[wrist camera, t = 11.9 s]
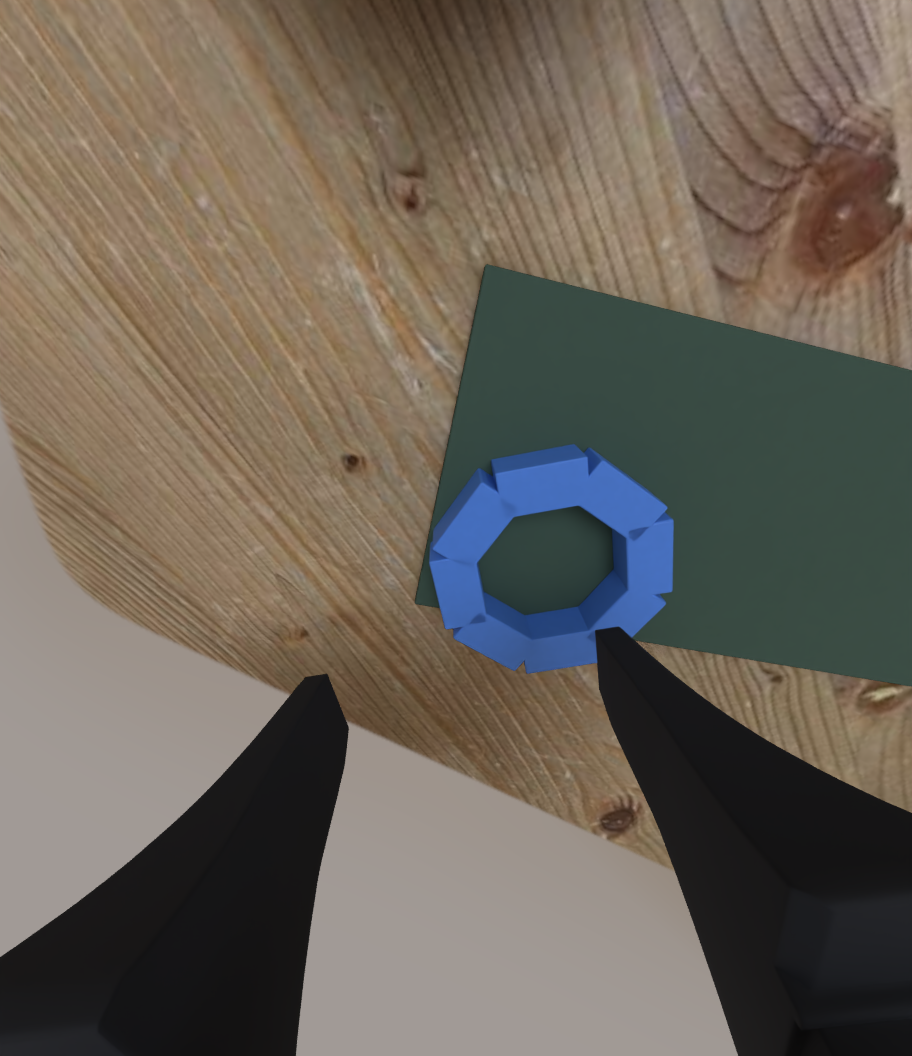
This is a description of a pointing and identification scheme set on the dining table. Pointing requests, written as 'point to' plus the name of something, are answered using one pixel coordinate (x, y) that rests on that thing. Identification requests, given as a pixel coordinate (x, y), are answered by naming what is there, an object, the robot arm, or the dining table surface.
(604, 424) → the mat
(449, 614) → the ring
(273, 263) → the dining table surface
